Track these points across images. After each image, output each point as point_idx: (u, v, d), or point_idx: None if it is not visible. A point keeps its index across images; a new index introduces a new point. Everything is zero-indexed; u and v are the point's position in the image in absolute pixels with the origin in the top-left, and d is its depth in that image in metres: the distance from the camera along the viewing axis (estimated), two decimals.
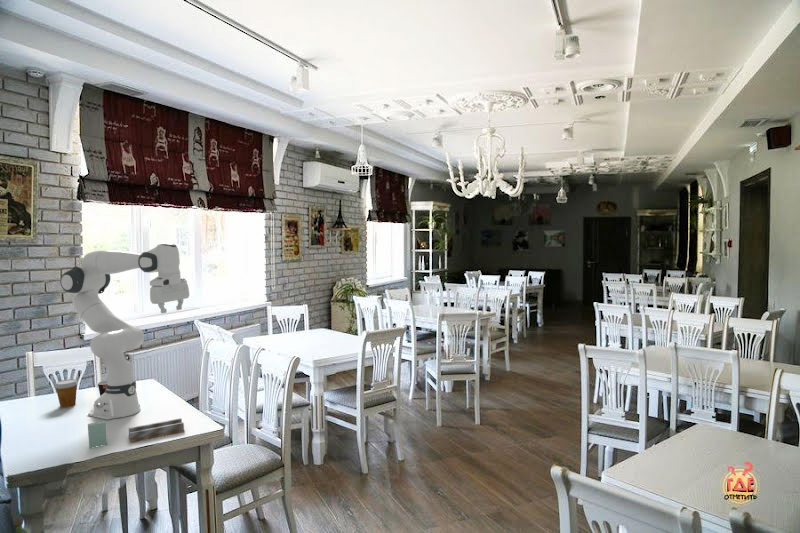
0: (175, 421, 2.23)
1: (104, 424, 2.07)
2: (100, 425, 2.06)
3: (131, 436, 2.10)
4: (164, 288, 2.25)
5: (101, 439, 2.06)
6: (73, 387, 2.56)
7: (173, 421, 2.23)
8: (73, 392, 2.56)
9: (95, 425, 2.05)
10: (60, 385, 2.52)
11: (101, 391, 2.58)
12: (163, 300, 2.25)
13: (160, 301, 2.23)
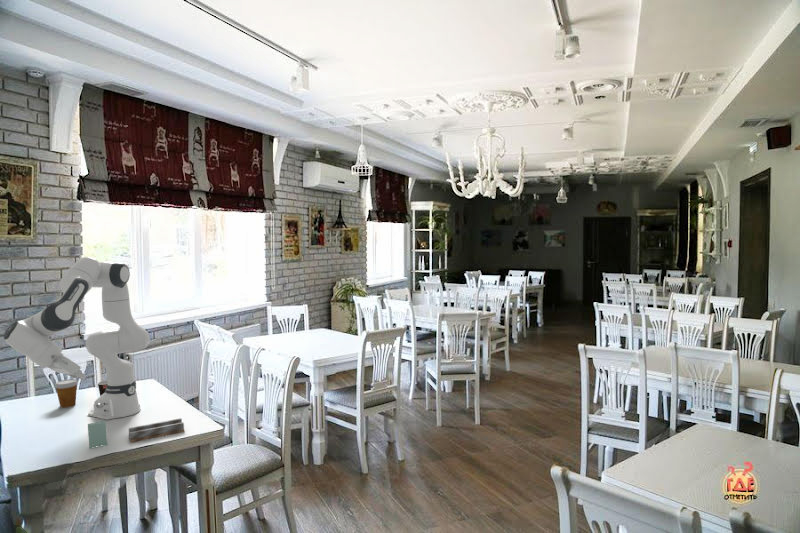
0: (175, 421, 2.23)
1: (104, 424, 2.07)
2: (100, 425, 2.06)
3: (131, 436, 2.10)
4: None
5: (101, 439, 2.06)
6: (73, 387, 2.56)
7: (173, 421, 2.23)
8: (73, 392, 2.56)
9: (95, 425, 2.05)
10: (60, 385, 2.52)
11: (101, 391, 2.58)
12: (58, 372, 2.01)
13: None
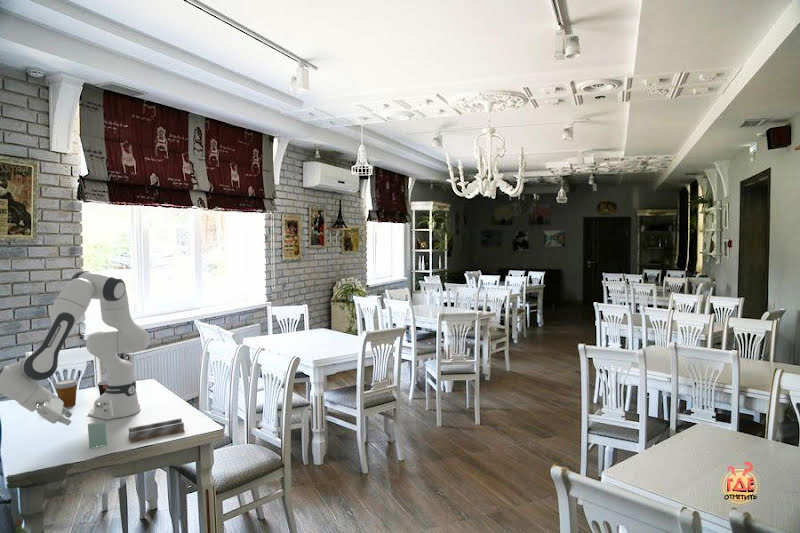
0: (175, 421, 2.23)
1: (104, 424, 2.07)
2: (100, 425, 2.06)
3: (131, 436, 2.10)
4: None
5: (101, 439, 2.06)
6: (73, 387, 2.56)
7: (173, 421, 2.23)
8: (73, 392, 2.56)
9: (95, 425, 2.05)
10: (60, 385, 2.52)
11: (101, 391, 2.58)
12: None
13: None
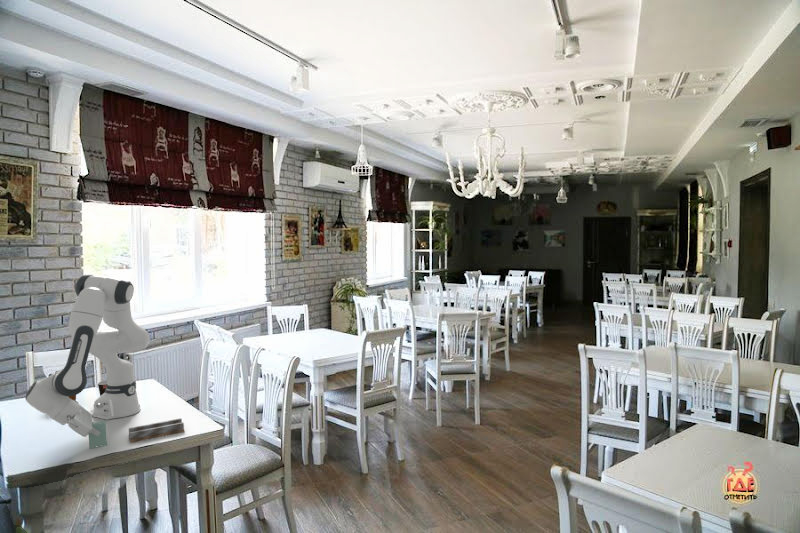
0: (175, 421, 2.23)
1: (104, 424, 2.07)
2: (100, 425, 2.06)
3: (131, 436, 2.10)
4: None
5: (101, 439, 2.06)
6: None
7: (173, 421, 2.23)
8: None
9: (95, 425, 2.05)
10: None
11: (101, 391, 2.58)
12: None
13: None
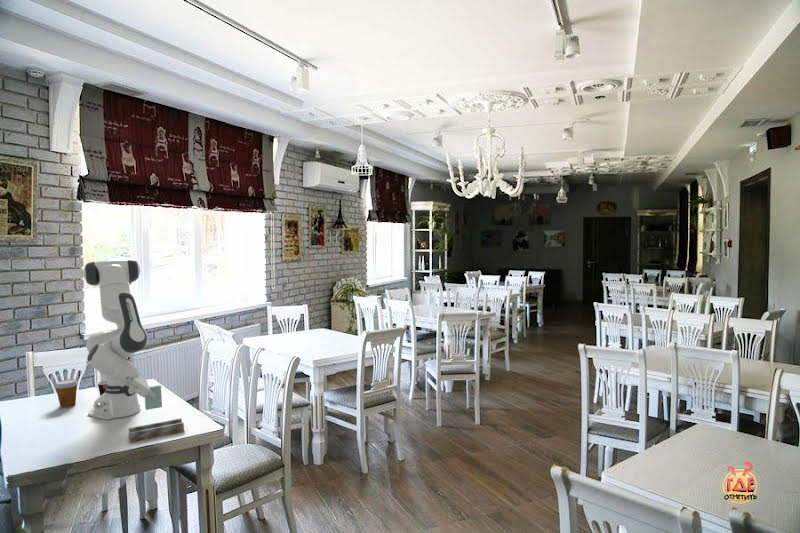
0: (175, 421, 2.23)
1: (159, 387, 2.16)
2: (156, 388, 2.15)
3: (131, 436, 2.10)
4: None
5: (157, 401, 2.16)
6: (73, 387, 2.56)
7: (173, 421, 2.23)
8: (73, 392, 2.56)
9: (151, 388, 2.15)
10: (60, 385, 2.52)
11: (101, 391, 2.58)
12: None
13: None
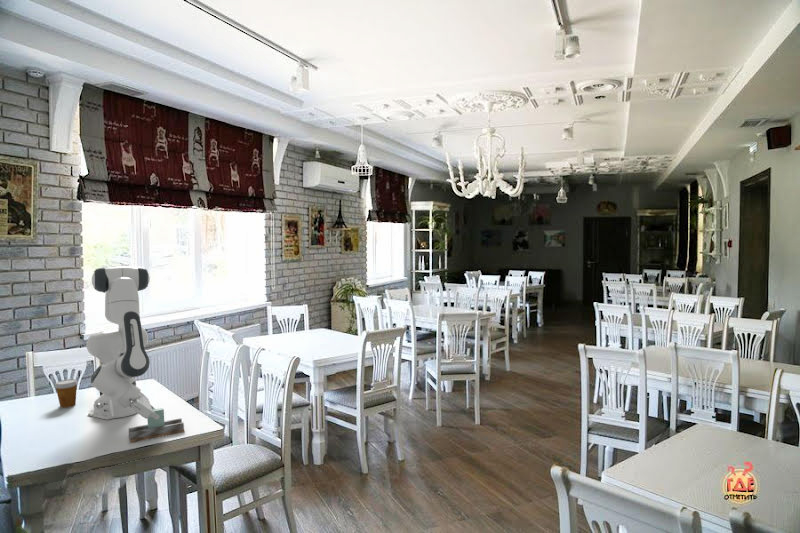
0: (175, 421, 2.23)
1: (162, 411, 2.17)
2: (159, 412, 2.16)
3: (131, 436, 2.10)
4: None
5: (159, 425, 2.17)
6: (73, 387, 2.56)
7: (173, 421, 2.23)
8: (73, 392, 2.56)
9: None
10: (60, 385, 2.52)
11: None
12: None
13: None
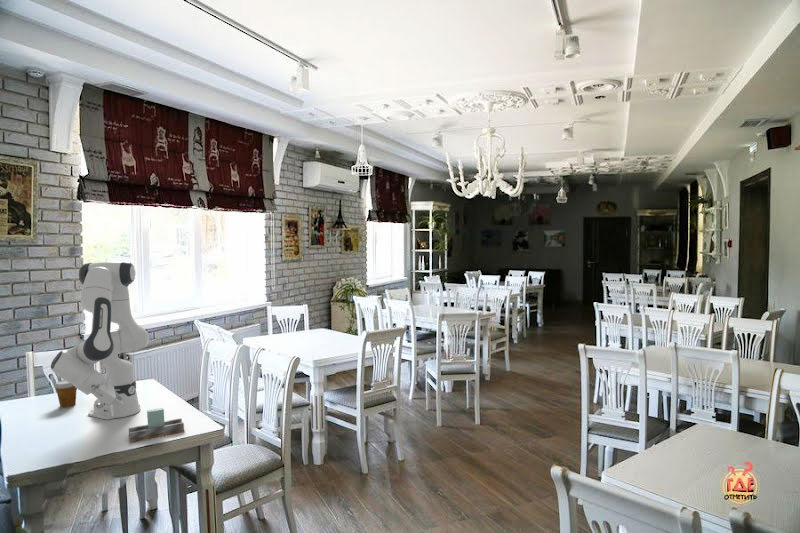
0: (175, 421, 2.23)
1: (162, 411, 2.17)
2: (159, 412, 2.16)
3: (131, 436, 2.10)
4: None
5: (159, 425, 2.17)
6: (73, 387, 2.56)
7: (173, 421, 2.23)
8: (73, 392, 2.56)
9: (154, 412, 2.16)
10: (60, 385, 2.52)
11: None
12: None
13: None
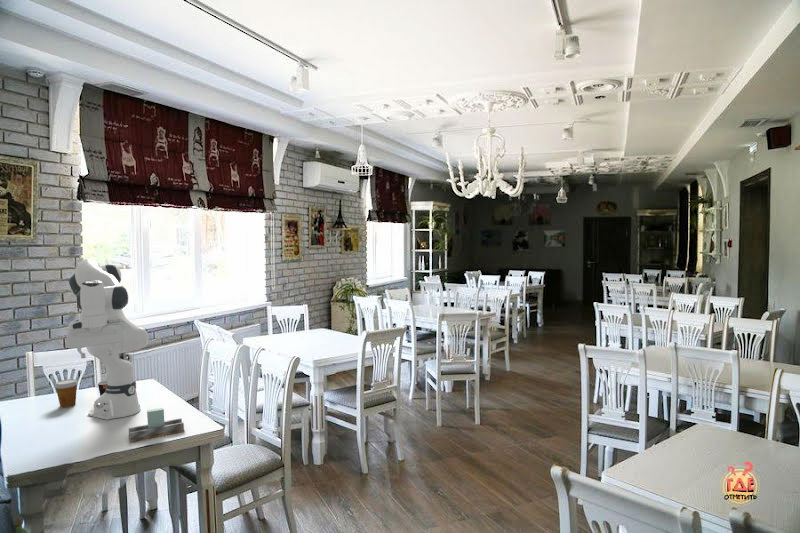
0: (175, 421, 2.23)
1: (162, 411, 2.17)
2: (159, 412, 2.16)
3: (131, 436, 2.10)
4: (77, 332, 2.04)
5: (159, 425, 2.17)
6: (73, 387, 2.56)
7: (173, 421, 2.23)
8: (73, 392, 2.56)
9: (154, 412, 2.16)
10: (60, 385, 2.52)
11: (101, 391, 2.58)
12: (77, 345, 2.05)
13: (71, 346, 2.04)
